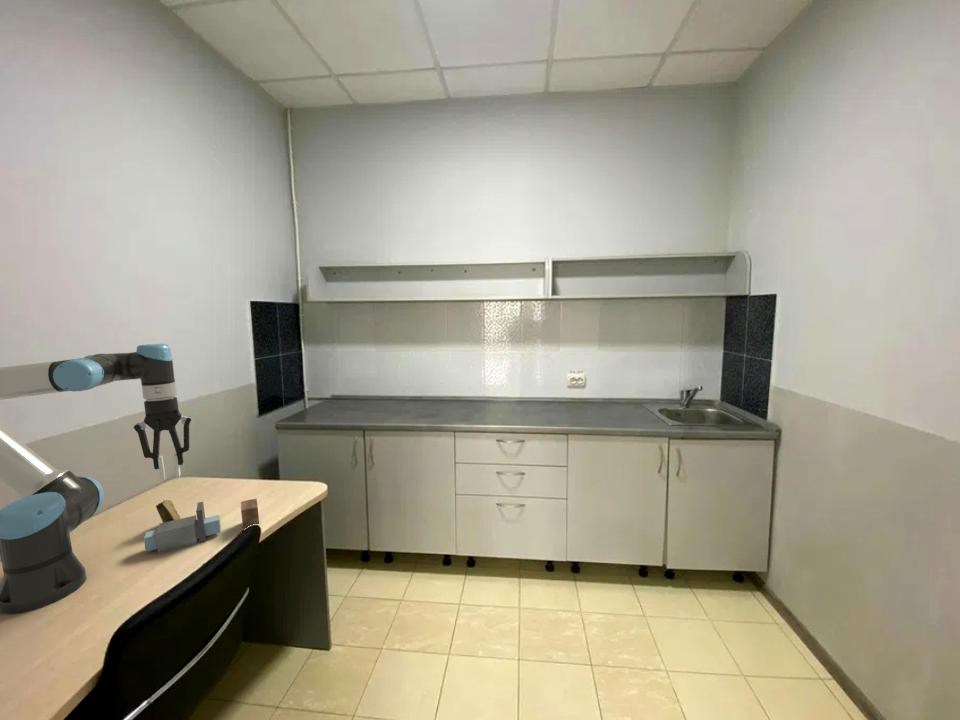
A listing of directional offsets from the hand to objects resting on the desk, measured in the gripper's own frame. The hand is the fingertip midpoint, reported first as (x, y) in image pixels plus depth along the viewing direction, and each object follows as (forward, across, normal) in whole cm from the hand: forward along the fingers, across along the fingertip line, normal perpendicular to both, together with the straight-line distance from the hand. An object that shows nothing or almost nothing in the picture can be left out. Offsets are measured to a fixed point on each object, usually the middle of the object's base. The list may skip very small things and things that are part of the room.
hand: (170, 477), depth 120 cm
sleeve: (+21, 0, 0) cm, 21 cm away
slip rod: (+20, +2, 0) cm, 20 cm away
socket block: (+21, +19, 0) cm, 28 cm away
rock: (+21, -2, +14) cm, 25 cm away
